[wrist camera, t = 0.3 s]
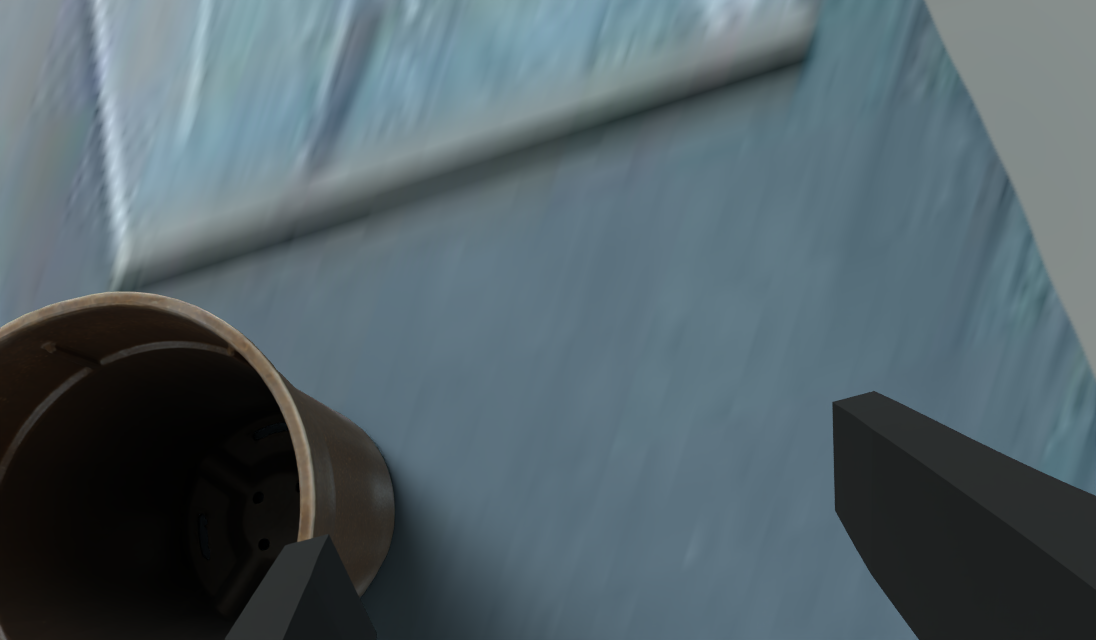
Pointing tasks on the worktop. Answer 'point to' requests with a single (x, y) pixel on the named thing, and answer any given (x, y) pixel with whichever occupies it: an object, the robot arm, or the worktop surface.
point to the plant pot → (163, 473)
